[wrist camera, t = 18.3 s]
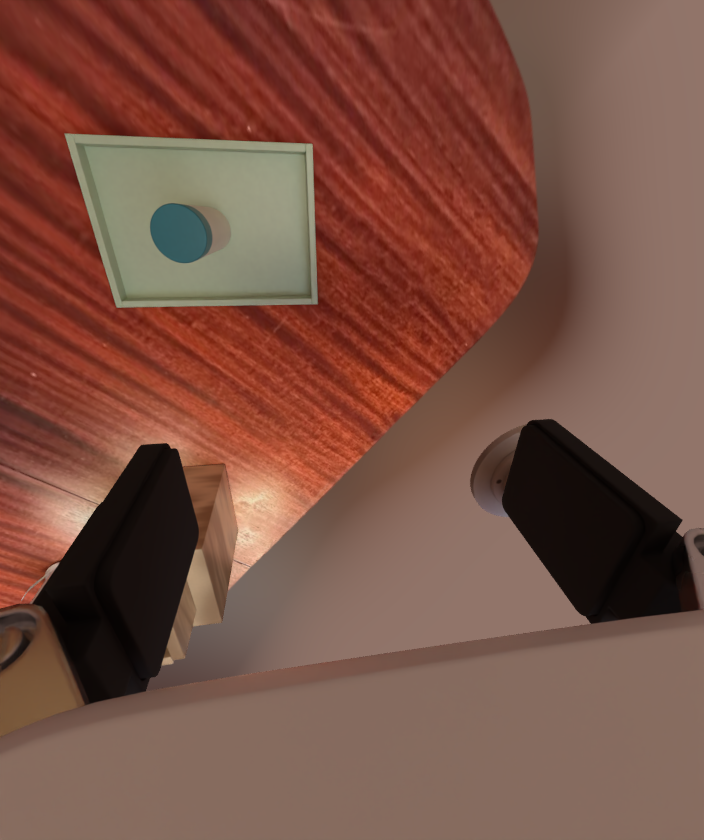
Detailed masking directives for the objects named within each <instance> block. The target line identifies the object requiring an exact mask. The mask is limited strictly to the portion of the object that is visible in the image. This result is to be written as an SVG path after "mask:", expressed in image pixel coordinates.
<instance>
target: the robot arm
mask: <svg viewBox="0 0 704 840" xmlns="http://www.w3.org/2000/svg"><path fill="white" fill-rule="evenodd" d="M491 490H492V493H493V495H494V496H495V498H496V499H497V501H499V502H500V503H501V504H502V505H503V508H504V510H505V512H506V513H507V514H508V516H509V517H510V519H511V520H512V521H513V523H514V524H515V525H516V527H517V528H518V530H519V531H520V532H521V534H522V535H523V536H524V538H525V539H526V541H527V542H528V544H529V545H530V546H531V548H532V549H533V550H534V552H535V553H536V555H537V556H538V557H539V559H540V560H541V562H542V563H543V564H544V566H545V567H546V569H547V570H548V571H549V573H550V574H551V576H552V577H553V578H554V580H555V581H556V582H557V584H558V585H559V587H560V588H561V589H562V591H563V592H564V594H565V595H566V596H567V598H568V599H569V601H570V602H571V603H572V605H573V606H574V607H575V609H576V610H577V611H578V612H579V613H580V614H581V615H583V616H586V618H587V619H588V620H589V622H590V623H591V624H587V625H580V626H573V627H567V628H559V629H551V630H544V631H537V632H530V633H523V634H516V635H509V636H503V637H495V638H488V639H481V640H474V641H467V642H460V643H453V644H447V645H440V646H434V647H426V648H419V649H412V650H405V651H399V652H392V653H385V654H378V655H371V656H365V657H359V658H351V659H345V660H339V661H332V662H325V663H318V664H312V665H305V666H298V667H292V668H285V669H278V670H272V671H265V672H259V673H252V674H245V675H240V676H233V677H227V678H221V679H216V680H209V681H204V682H198V683H192V684H186V685H180V686H174V687H168V688H162V689H156V690H150V691H146V689H147V685H148V682H149V679H150V678H151V677H156V676H157V675H158V673H159V671H160V668H161V665H162V662H163V658H164V655H165V651H166V648H167V645H168V641H169V638H170V634H171V631H172V627H173V624H174V621H175V617H176V614H177V610H178V607H179V604H180V600H181V597H182V593H183V590H184V587H185V583H186V580H187V576H188V573H189V570H190V566H191V563H192V559H193V556H194V552H195V549H196V546H197V542H198V538H199V527H198V522H197V519H196V515H195V511H194V508H193V504H192V500H191V496H190V493H189V489H188V485H187V482H186V478H185V474H184V470H183V467H182V463H181V459H180V456H179V452H178V450H177V449H175V448H174V449H171V448H170V446H169V445H168V444H167V443H163V444H147V445H141V446H140V447H139V448H138V450H137V451H136V453H135V454H134V456H133V457H132V459H131V460H130V462H129V463H128V465H127V466H126V468H125V469H124V471H123V472H122V474H121V475H120V477H119V478H118V480H117V481H116V483H115V484H114V486H113V488H112V489H111V491H110V492H109V494H108V495H107V497H106V498H105V500H104V501H103V502H102V503H100V505H99V506H98V507H97V508H96V510H95V511H94V512H93V514H92V515H91V517H90V518H89V520H88V521H87V523H86V524H85V526H84V527H83V529H82V530H81V532H80V533H79V535H78V536H77V538H76V539H75V541H74V542H73V544H72V545H71V547H70V548H69V550H68V551H67V553H66V554H65V556H64V557H63V558H62V560H61V561H60V563H59V564H58V566H57V567H56V569H55V570H54V572H53V573H52V575H51V576H50V578H49V579H48V581H47V582H46V584H45V585H44V587H43V588H42V590H41V591H40V593H39V594H38V596H37V597H36V599H35V600H34V601H33V603H31V604H16V605H12V606H9V607H5V608H1V609H0V840H704V528H696V529H691V530H689V531H688V532H686V533H685V535H684V536H683V537H682V536H680V535H679V534H678V533H677V532H676V530H677V528H678V527H679V525H680V523H681V522H682V519H680V518H679V517H678V516H677V515H675V514H674V513H673V512H671V511H670V510H669V509H668V508H666V507H665V506H664V505H663V504H661V503H660V502H659V501H657V500H656V499H655V498H654V497H652V496H651V495H649V494H648V493H647V492H646V491H645V490H643V489H642V488H641V487H639V486H638V485H637V484H636V483H634V482H633V481H632V480H630V479H629V478H628V477H627V476H625V475H624V474H623V473H621V472H620V471H619V470H618V469H616V468H615V467H614V466H612V465H611V464H610V463H609V462H607V461H606V460H605V459H603V458H602V457H601V456H600V455H598V454H597V453H596V452H594V451H593V450H592V449H591V448H589V447H588V446H587V445H585V444H584V443H583V442H582V441H580V440H579V439H578V438H576V437H575V436H574V435H573V434H571V433H570V432H569V431H568V430H566V429H565V428H564V427H562V426H561V425H560V424H559V423H557V422H556V421H554V420H552V419H546V420H532V421H529V422H528V424H527V425H526V426H524V427H523V428H522V430H521V433H520V437H519V440H518V444H517V447H516V450H515V451H513V452H512V453H510V454H509V455H508V456H506V457H505V458H504V459H503V460H502V461H501V462H500V464H499V465H498V466H497V468H496V469H495V471H494V473H493V476H492V479H491Z"/></svg>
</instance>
